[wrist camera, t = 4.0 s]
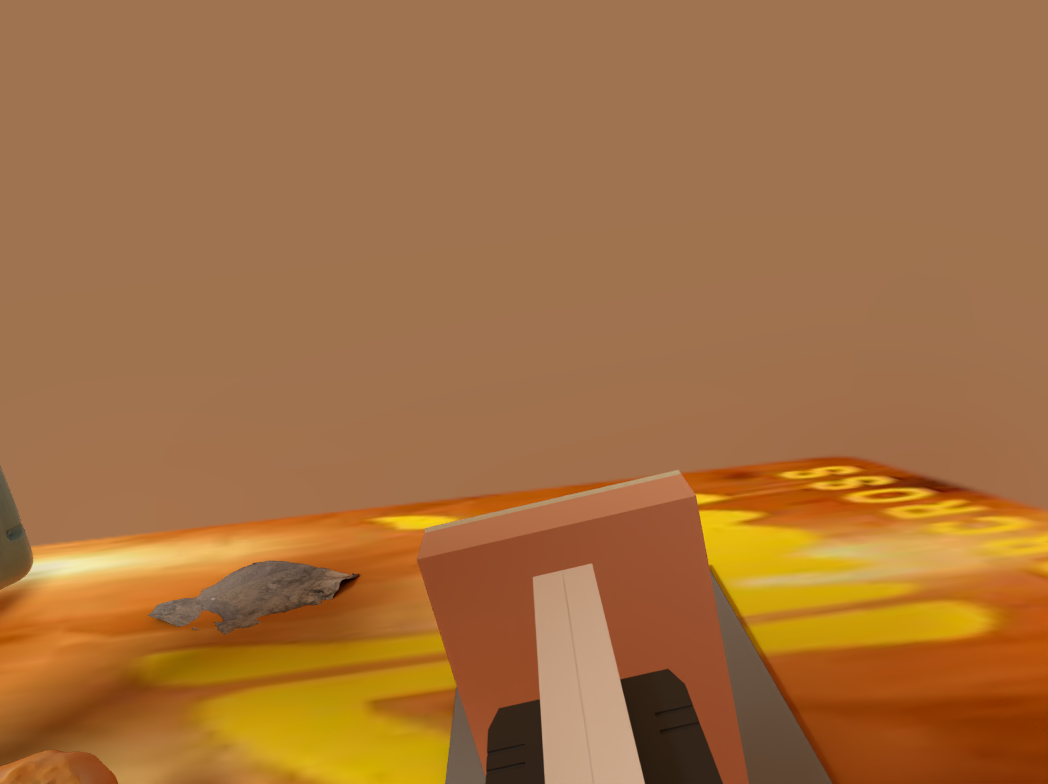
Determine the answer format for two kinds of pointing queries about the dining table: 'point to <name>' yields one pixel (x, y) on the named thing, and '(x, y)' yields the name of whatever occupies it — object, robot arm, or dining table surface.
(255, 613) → the stone slab
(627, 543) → the terracotta tile
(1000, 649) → the dining table surface
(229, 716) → the dining table surface
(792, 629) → the dining table surface
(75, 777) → the fruit
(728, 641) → the rubber mat
